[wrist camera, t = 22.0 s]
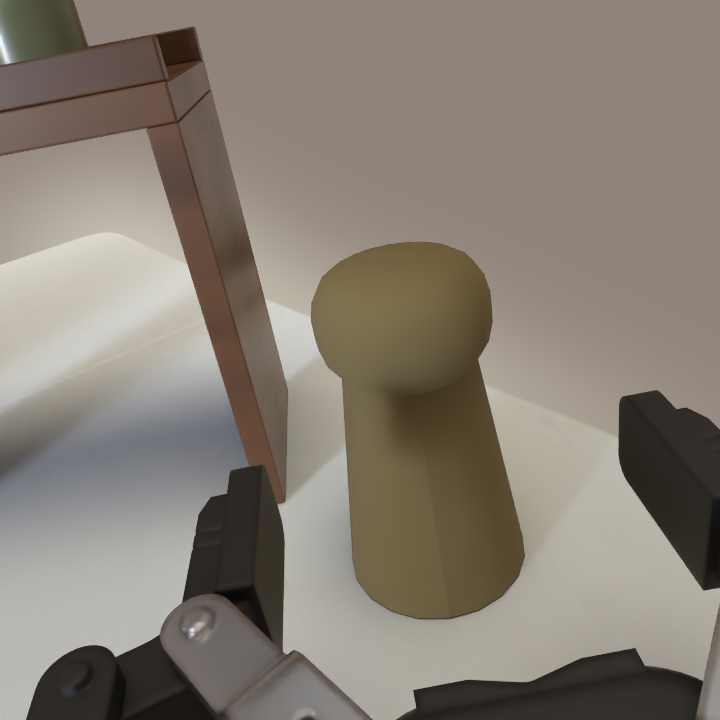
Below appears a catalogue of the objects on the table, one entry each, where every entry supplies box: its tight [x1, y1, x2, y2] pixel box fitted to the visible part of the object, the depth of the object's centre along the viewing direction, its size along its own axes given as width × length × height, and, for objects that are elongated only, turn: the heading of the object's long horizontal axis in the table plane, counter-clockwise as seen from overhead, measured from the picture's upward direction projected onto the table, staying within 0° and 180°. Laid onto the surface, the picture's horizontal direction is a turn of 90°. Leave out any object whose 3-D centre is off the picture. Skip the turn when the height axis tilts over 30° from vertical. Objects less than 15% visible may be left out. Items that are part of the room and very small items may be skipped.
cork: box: [311, 242, 525, 618], centre depth 21 cm, size 6×6×11 cm
